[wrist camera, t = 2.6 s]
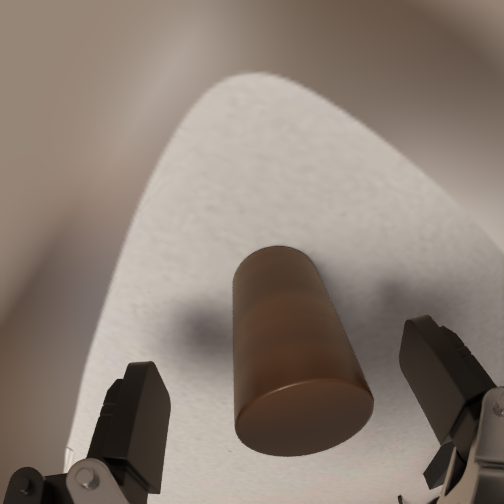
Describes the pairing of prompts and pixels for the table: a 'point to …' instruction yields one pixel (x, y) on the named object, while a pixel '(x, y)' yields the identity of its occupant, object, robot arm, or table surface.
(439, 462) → the black board with hole
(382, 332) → the table surface
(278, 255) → the plug
